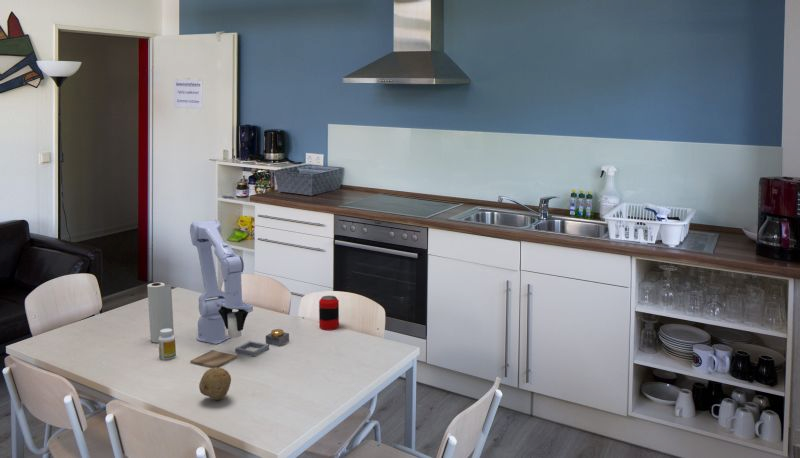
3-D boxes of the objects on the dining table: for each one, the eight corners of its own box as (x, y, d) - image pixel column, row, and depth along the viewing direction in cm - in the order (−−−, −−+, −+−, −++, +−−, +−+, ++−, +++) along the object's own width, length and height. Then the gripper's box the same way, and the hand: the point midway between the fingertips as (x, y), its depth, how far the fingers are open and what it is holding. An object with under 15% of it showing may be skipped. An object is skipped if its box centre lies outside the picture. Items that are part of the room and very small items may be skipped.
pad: (190, 362, 232) (190, 360, 232) (212, 352, 241) (212, 350, 241) (216, 368, 227) (216, 366, 227) (237, 357, 237) (237, 355, 237)
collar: (235, 352, 241) (234, 348, 241) (250, 345, 249) (249, 341, 248) (254, 356, 238) (254, 352, 237) (269, 348, 245) (269, 344, 245)
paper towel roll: (147, 341, 251) (143, 285, 247) (158, 336, 256) (155, 281, 252) (162, 344, 248) (159, 287, 244) (174, 339, 254) (171, 283, 249)
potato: (202, 408, 198) (200, 376, 196) (197, 396, 206) (196, 364, 204) (234, 403, 202) (232, 371, 200) (228, 391, 210) (227, 360, 208)
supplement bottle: (179, 355, 238) (177, 328, 236) (169, 361, 233) (167, 333, 231) (166, 353, 240) (164, 326, 238) (156, 358, 235) (154, 331, 233)
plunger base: (265, 343, 250) (265, 335, 250) (275, 338, 256) (275, 330, 255) (279, 346, 248) (279, 338, 247) (289, 341, 253) (288, 333, 253)
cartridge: (225, 335, 238) (224, 313, 236) (237, 332, 241) (236, 310, 240) (232, 339, 235) (231, 316, 233) (244, 335, 238) (243, 313, 236)
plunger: (268, 340, 250) (268, 332, 250) (276, 336, 254) (275, 328, 254) (278, 342, 249) (278, 333, 248) (285, 338, 253) (285, 330, 252)
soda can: (337, 330, 265) (337, 300, 263) (318, 330, 265) (317, 300, 263) (339, 324, 272) (339, 294, 270) (320, 323, 272) (320, 294, 270)
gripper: (257, 290, 235) (258, 328, 238) (223, 285, 241) (224, 322, 244) (245, 296, 229) (246, 334, 232) (210, 290, 235) (211, 328, 237)
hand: (234, 329), depth 237 cm, fingers closed on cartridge, 4 cm apart
